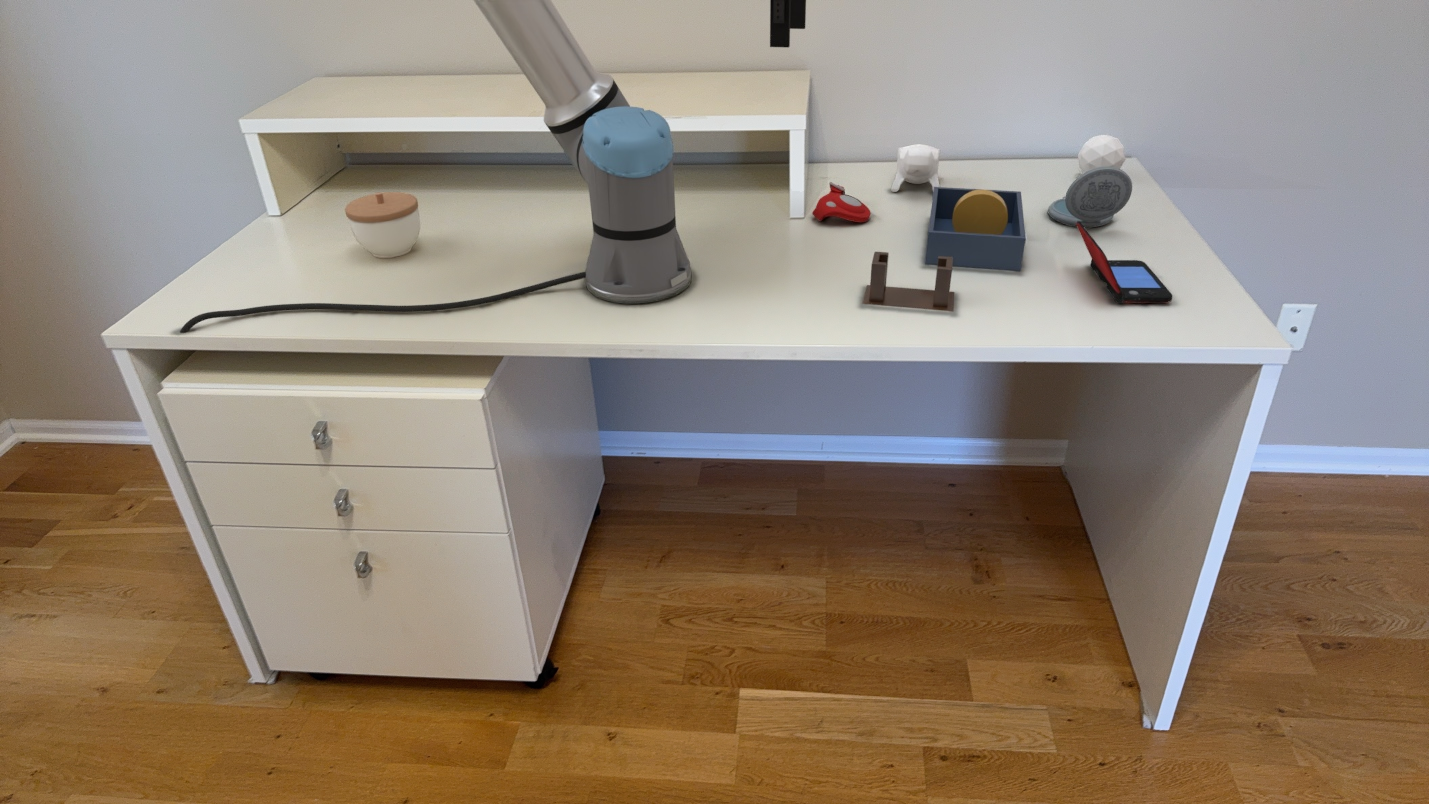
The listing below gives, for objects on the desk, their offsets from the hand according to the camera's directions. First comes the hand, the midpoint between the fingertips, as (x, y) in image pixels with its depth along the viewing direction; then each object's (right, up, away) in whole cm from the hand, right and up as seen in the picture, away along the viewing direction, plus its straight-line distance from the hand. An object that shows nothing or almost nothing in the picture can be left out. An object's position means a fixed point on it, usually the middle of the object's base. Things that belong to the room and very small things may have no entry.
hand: (788, 37), depth 134 cm
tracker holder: (+11, -23, +18) cm, 31 cm away
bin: (+29, -30, +5) cm, 42 cm away
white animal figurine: (+25, -16, +27) cm, 40 cm away
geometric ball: (+58, -14, +29) cm, 66 cm away
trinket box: (-62, -30, +9) cm, 70 cm away
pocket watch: (+48, -24, +13) cm, 56 cm away
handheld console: (+45, -38, -8) cm, 59 cm away
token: (+29, -30, +5) cm, 42 cm away
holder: (+16, -40, -10) cm, 44 cm away
